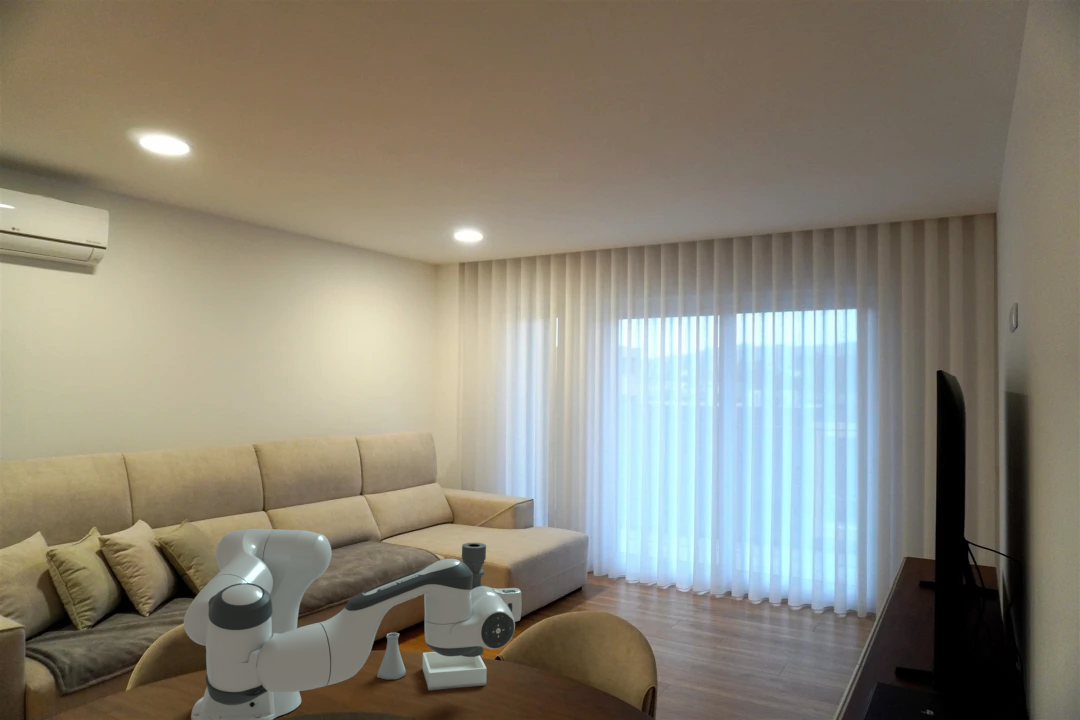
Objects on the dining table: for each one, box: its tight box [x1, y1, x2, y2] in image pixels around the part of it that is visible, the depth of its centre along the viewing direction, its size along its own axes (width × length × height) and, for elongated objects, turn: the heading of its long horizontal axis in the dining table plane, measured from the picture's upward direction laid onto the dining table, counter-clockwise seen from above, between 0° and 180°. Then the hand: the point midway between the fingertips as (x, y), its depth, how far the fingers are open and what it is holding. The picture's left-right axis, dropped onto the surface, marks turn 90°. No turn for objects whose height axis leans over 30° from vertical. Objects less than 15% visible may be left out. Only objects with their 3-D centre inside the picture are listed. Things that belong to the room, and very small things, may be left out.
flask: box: [376, 632, 407, 680], centre depth 176 cm, size 7×7×10 cm
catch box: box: [421, 651, 488, 691], centre depth 176 cm, size 14×14×4 cm
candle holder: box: [461, 542, 487, 657], centre depth 165 cm, size 6×6×25 cm
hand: (472, 591), depth 166 cm, fingers closed on candle holder, 4 cm apart
